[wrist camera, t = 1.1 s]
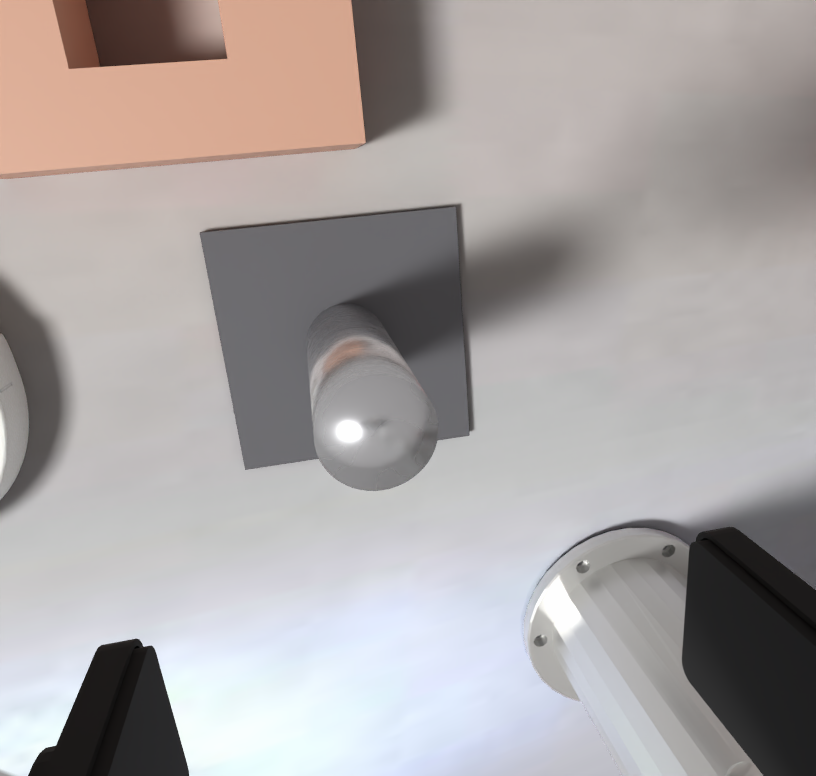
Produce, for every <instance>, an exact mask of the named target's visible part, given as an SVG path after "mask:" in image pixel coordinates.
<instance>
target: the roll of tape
mask: <svg viewBox="0 0 816 776" xmlns="http://www.w3.org/2000/svg"><path fill="white" fill-rule="evenodd" d="M28 436H29V412H28V404H27V397H26V393H25V389H24V385H23V382H22V379H21V376H20V373H19V370H18V367H17V365H16V362H15V359H14V357H13V354H12V352H11V350H10V347H9V345H8V343H7V341H6V339H5V337H4V335H3V334H1V333H0V500H1V499H2V498H3V497H4V495H5V494H6V493H7V492H8V490H9V489H10V487H11V486H12V484H13V483H14V481H15V479H16V477H17V475H18V473H19V471H20V469H21V466H22V463H23V461H24V457H25V453H26V450H27V444H28Z"/></svg>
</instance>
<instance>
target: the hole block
mask: <svg viewBox="0 0 816 776" xmlns="http://www.w3.org/2000/svg"><path fill="white" fill-rule="evenodd" d="M218 4H219V10H220V16H221V22H222V28H223V34H224V41H225V47H226V53H227V59H217V60H201V61H186V62H170V63H155V64H139V65H124V66H108V67H100V63H99V59H98V54H97V50H96V45H95V41H94V36H93V32H92V28H91V23H90V19H89V14H88V10H87V5H86V1H85V0H0V179H11V178H22V177H34V176H45V175H57V174H68V173H80V172H92V171H103V170H115V169H126V168H138V167H150V166H161V165H173V164H184V163H196V162H208V161H219V160H231V159H242V158H254V157H266V156H277V155H289V154H300V153H312V152H324V151H335V150H347V149H356V148H357V147H359V146H361V145H363V144H365V143H366V141H365V131H364V121H363V111H362V101H361V92H360V82H359V72H358V62H357V52H356V43H355V33H354V23H353V13H352V4H351V0H218Z"/></svg>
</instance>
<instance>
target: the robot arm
mask: <svg viewBox="0 0 816 776" xmlns="http://www.w3.org/2000/svg"><path fill="white" fill-rule="evenodd" d="M523 638H524V643H525V648H526V652H527V654H528V656H529V659H530V661H531V663H532V665H533V667H534V669H535V671H536V672H537V674H538V675H539V677H540V678H541V680H542V681H543V682H544V683H545V684H547V685H548V686H549V687H550V688H551V689H552V690H554V691H555V692H557V693H559V694H561V695H562V696H564V697H567V698H570V699H573V700H576V701H580V702H581V703H582V705H583V707H584V708H585V710H586V712H587V714H588V716H589V717H590V719H591V721H592V723H593V725H594V726H595V728H596V730H597V732H598V734H599V735H600V737H601V739H602V741H603V743H604V744H605V746H606V748H607V750H608V752H609V753H610V755H611V757H612V759H613V761H614V762H615V764H616V766H617V768H618V770H619V771H620V773H621V775H622V776H816V590H815V589H813V588H812V587H811V586H809V585H808V584H807V583H806V582H804V581H803V580H802V579H801V578H799V577H798V576H797V575H795V574H794V573H793V572H792V571H790V570H789V569H788V568H786V567H785V566H784V565H783V564H781V563H780V562H779V561H777V560H776V559H775V558H774V557H772V556H771V555H770V554H768V553H767V552H766V551H765V550H763V549H762V548H761V547H759V546H758V545H757V544H756V543H754V542H753V541H752V540H750V539H749V538H748V537H747V536H745V535H744V534H743V533H742V532H740V531H739V530H737V529H736V528H734V527H726V528H721V529H716V530H710V531H705V532H701V533H699V534H698V536H697V538H696V542H693V543H692V544H691V545H690V546H689V545H687V544H686V543H685V542H683V541H682V540H681V539H679V538H678V537H676V536H673V535H671V534H669V533H667V532H664V531H660V530H655V529H650V528H625V529H620V530H614V531H609V532H607V533H604V534H601V535H598V536H596V537H593V538H591V539H589V540H587V541H585V542H583V543H582V544H580V545H578V546H576V547H574V548H573V549H572V550H570V551H569V552H568V553H566V554H565V555H564V556H563V557H561V558H560V559H559V560H558V561H557V562H556V563H555V564H554V565H553V566H552V567H551V568H550V569H549V570H548V571H547V572H546V573H545V575H544V576H543V578H542V579H541V581H540V582H539V584H538V585H537V587H536V588H535V590H534V592H533V594H532V596H531V599H530V601H529V603H528V605H527V610H526V614H525V618H524V628H523ZM28 776H189V771H188V766H187V762H186V759H185V755H184V752H183V748H182V745H181V741H180V737H179V734H178V730H177V727H176V723H175V720H174V716H173V712H172V709H171V705H170V702H169V698H168V695H167V691H166V687H165V684H164V680H163V677H162V673H161V670H160V666H159V662H158V659H157V655H156V652H155V649H154V648H153V646H146V647H143V645H142V643H141V641H140V640H139V639H132V640H127V641H122V642H116V643H111V644H106V645H101V646H100V647H98V649H97V651H96V652H95V655H94V657H93V659H92V662H91V664H90V667H89V669H88V671H87V674H86V676H85V678H84V681H83V683H82V686H81V688H80V690H79V693H78V695H77V697H76V700H75V702H74V705H73V707H72V709H71V712H70V714H69V716H68V719H67V721H66V724H65V726H64V728H63V731H62V733H61V735H60V738H59V740H58V743H57V745H56V746H53V747H48V748H45V749H44V750H43V751H42V752H41V753H40V754H39V755H38V757H37V759H36V760H35V762H34V764H33V766H32V768H31V770H30V773H29V775H28Z"/></svg>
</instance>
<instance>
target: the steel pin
mask: <svg viewBox="0 0 816 776" xmlns="http://www.w3.org/2000/svg"><path fill="white" fill-rule="evenodd" d="M306 348H307V360H308V373H309V385H310V397H311V410H312V422H313V434H314V445H315V449H316V453H317V455H318V458H319V460H320V462H321V463H322V465H323V466H324V468H325V469H326V470H327V471H328V472H329V473H330V474H331V475H332V476H333V477H334V478H335V479H337V480H338V481H340V482H341V483H343V484H345V485H347V486H350V487H352V488H356V489H360V490H367V491H378V490H385V489H390V488H393V487H396V486H399V485H401V484H403V483H405V482H407V481H408V480H410V479H412V478H413V477H414V476H415V475H417V474H418V473H419V472H420V471H421V470H422V469H423V468H424V467H425V465H426V464H427V463H428V461H429V460H430V458H431V456H432V454H433V452H434V450H435V447H436V443H437V439H438V420H437V415H436V412H435V409H434V407H433V405H432V403H431V401H430V400H429V398H428V397H427V395H426V393H425V392H424V390H423V389H422V387H421V385H420V384H419V382H418V381H417V379H416V377H415V376H414V374H413V373H412V371H411V370H410V368H409V366H408V365H407V363H406V362H405V360H404V358H403V357H402V355H401V354H400V352H399V350H398V349H397V347H396V346H395V344H394V343H393V341H392V339H391V338H390V336H389V335H388V333H387V331H386V330H385V328H384V327H383V325H382V323H381V322H380V320H379V319H378V318H377V317H376V315H374V314H373V313H372V312H371V311H369V310H368V309H366V308H364V307H362V306H359V305H355V304H338V305H334V306H331V307H329V308H327V309H325V310H324V311H322V312H321V313H320V314H319V315H318V316H317V317H316V318H315V319H314V320H313V322H312V323H311V325H310V327H309V330H308V333H307V338H306Z"/></svg>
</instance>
